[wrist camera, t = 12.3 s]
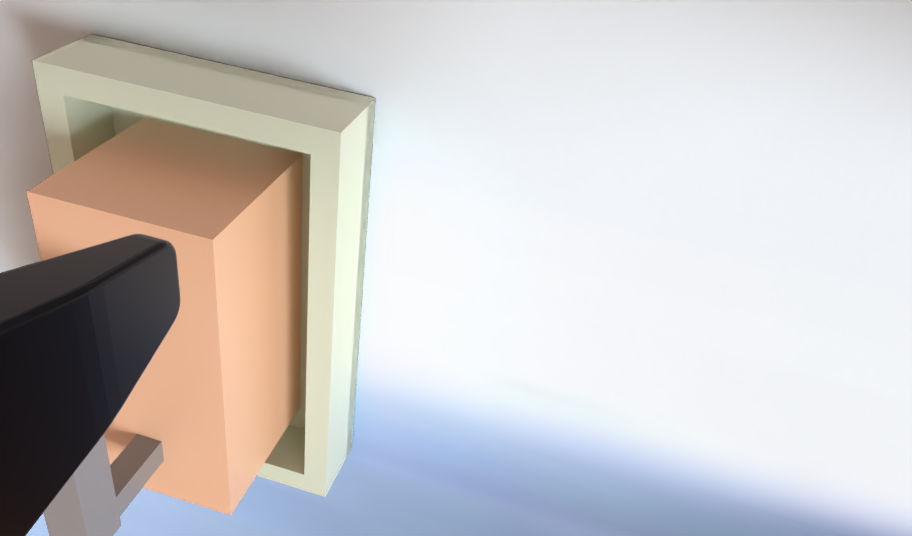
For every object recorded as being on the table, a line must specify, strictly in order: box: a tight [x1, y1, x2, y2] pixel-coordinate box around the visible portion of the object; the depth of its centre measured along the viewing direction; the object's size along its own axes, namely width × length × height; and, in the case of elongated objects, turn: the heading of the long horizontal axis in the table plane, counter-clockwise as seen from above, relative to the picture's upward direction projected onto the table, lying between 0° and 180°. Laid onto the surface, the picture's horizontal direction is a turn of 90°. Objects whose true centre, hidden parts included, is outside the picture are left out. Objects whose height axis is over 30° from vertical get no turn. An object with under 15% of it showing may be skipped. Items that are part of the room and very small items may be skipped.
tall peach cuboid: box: [26, 117, 303, 536], centre depth 22 cm, size 5×10×9 cm, turn 173°
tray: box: [32, 34, 376, 497], centre depth 25 cm, size 9×14×2 cm, turn 172°
